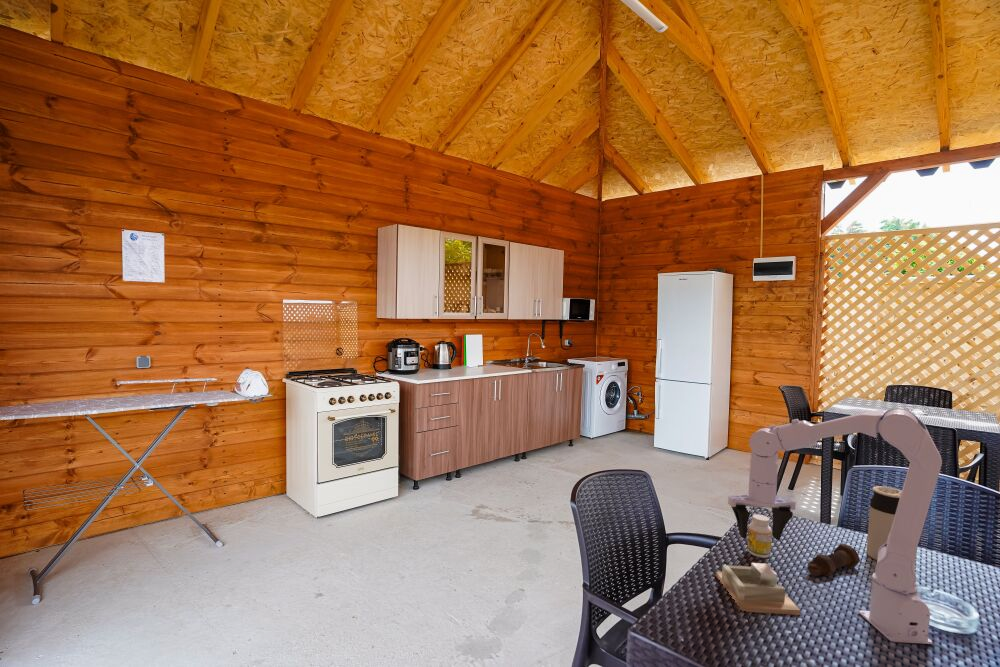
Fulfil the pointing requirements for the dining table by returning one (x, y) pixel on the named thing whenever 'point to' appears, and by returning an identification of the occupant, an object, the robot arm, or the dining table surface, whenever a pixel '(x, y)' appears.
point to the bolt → (834, 561)
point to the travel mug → (881, 517)
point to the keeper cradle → (755, 592)
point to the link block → (762, 574)
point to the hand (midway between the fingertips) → (759, 537)
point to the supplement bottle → (759, 536)
